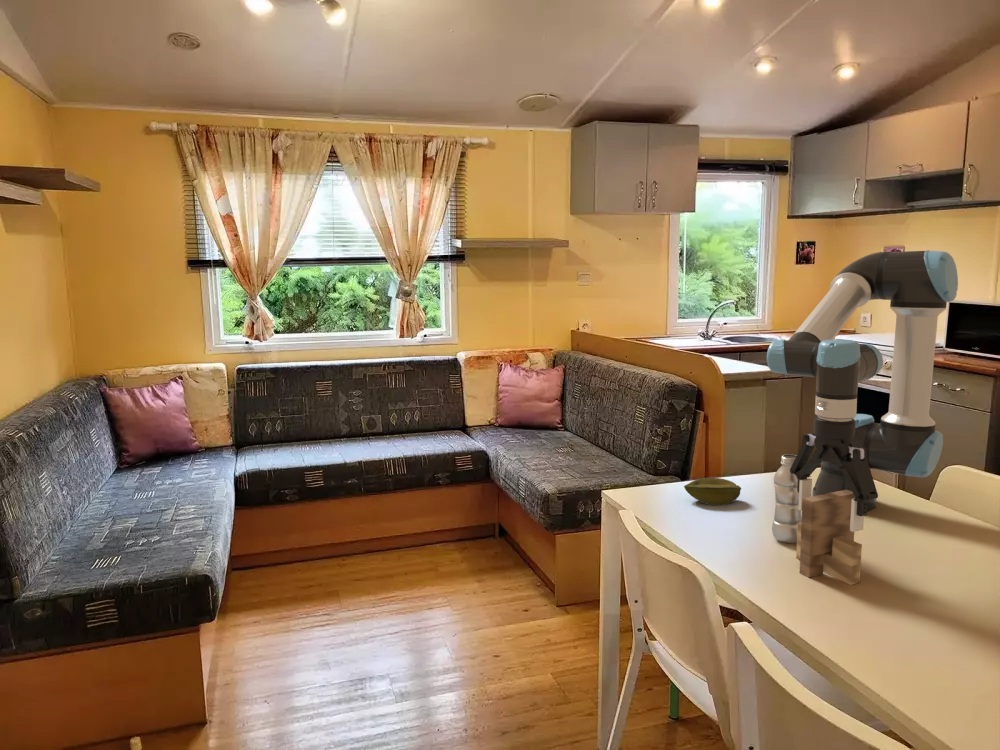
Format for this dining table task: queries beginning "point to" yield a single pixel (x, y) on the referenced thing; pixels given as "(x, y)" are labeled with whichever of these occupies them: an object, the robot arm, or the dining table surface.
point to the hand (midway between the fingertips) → (829, 519)
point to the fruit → (713, 491)
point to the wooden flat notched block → (823, 528)
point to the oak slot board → (840, 558)
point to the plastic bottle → (786, 502)
